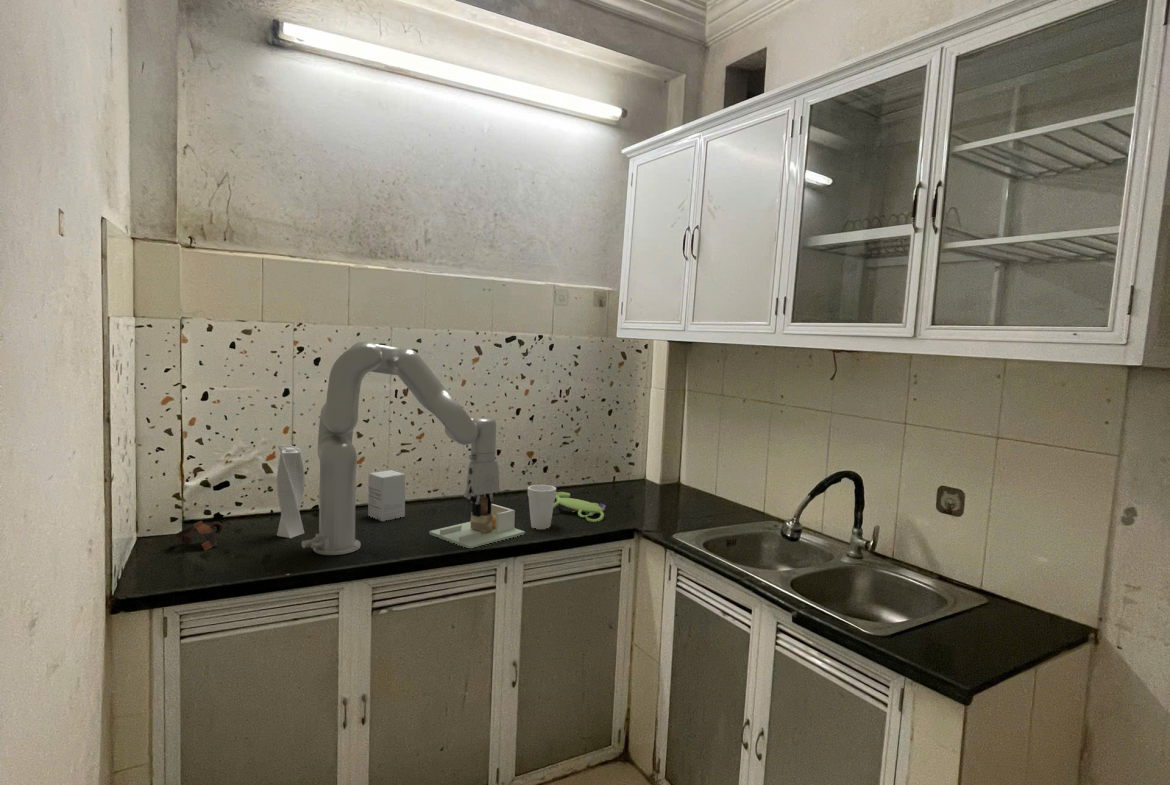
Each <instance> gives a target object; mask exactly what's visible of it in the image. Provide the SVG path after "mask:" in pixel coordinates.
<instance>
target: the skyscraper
mask: <svg viewBox="0 0 1170 785" xmlns="http://www.w3.org/2000/svg"><path fill="white" fill-rule="evenodd" d="M278 449H279V452H280V454H279V460H278V466H277V473H276V474H277V475H276V492H277V499H278V504H279V509H280V519H279V524H278V528H277V532H276V536H277V537H282V538H287V539H293V538H295V537H298V536H300V535H304V534H305V530H304V525H303V521H302V518H301V514H300V513H301V512H300V509H301V505H302V503H303V496H304V492H305V485H306V484H305V483H306V482H305V481H306V478H305V467H304V462H303V457H302V452H301V451H302V450H301V447H296V446H294V445H291V444H281V445H279V446H278Z"/></svg>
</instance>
